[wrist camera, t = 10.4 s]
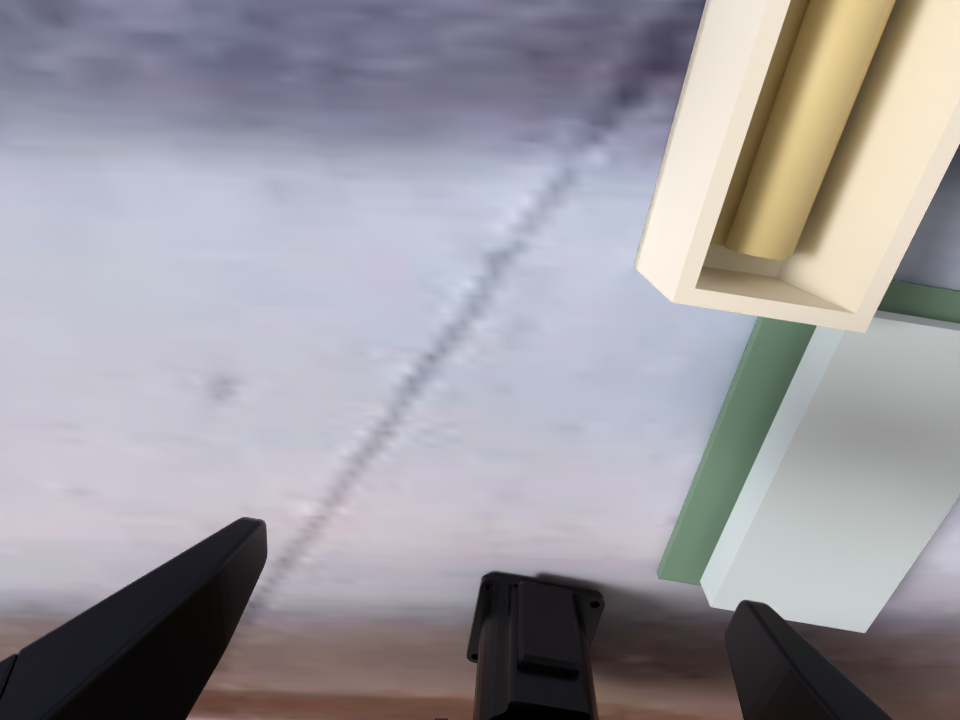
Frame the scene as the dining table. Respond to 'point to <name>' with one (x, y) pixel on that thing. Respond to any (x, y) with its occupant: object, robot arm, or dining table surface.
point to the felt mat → (762, 423)
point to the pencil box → (803, 155)
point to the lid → (847, 476)
